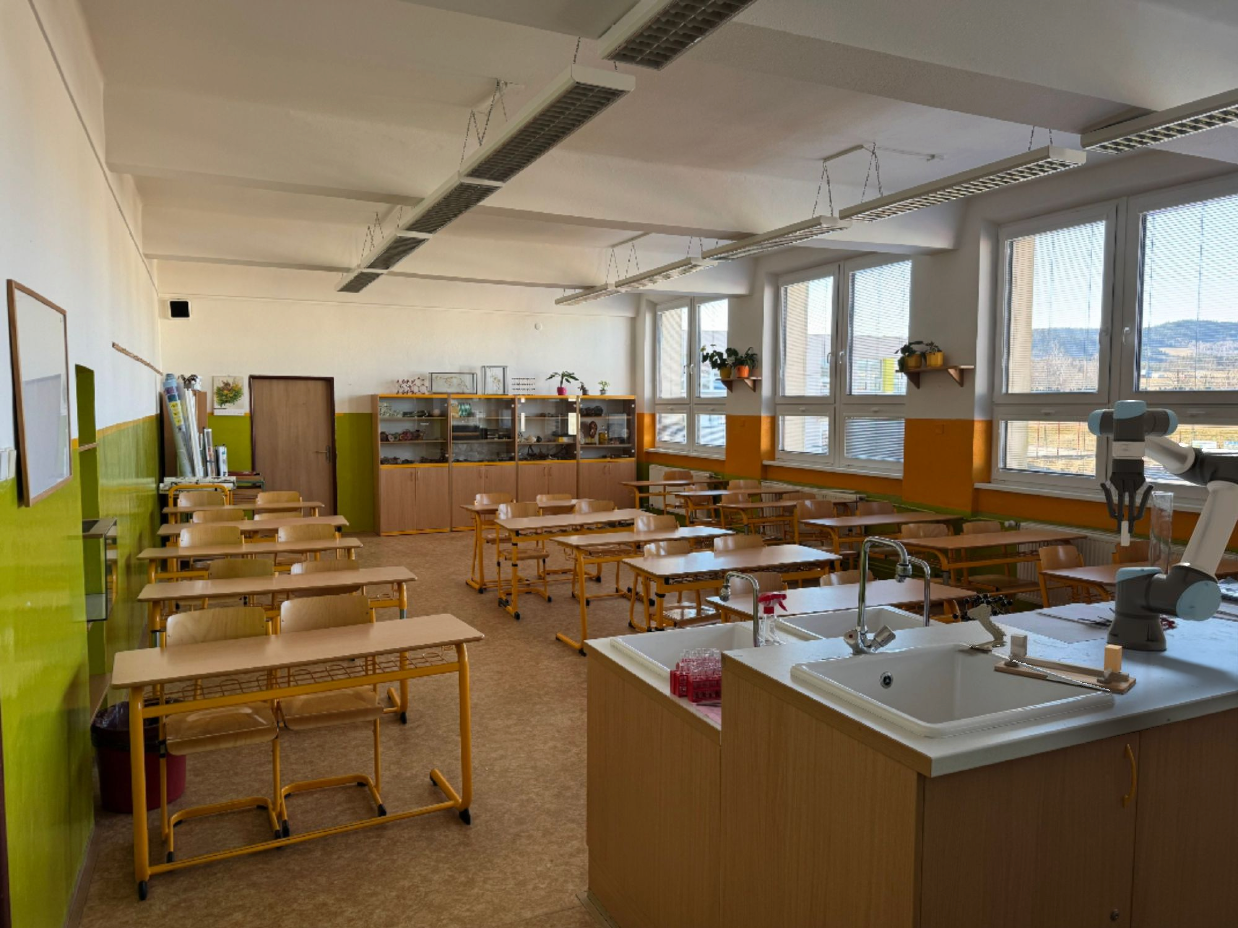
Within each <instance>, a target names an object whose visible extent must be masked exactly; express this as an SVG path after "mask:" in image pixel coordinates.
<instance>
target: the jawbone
mask: <svg viewBox="0 0 1238 928" xmlns="http://www.w3.org/2000/svg"><path fill="white" fill-rule="evenodd" d="M991 613H992V606H991V605H990V604H988V605H987V604H986V603H981V604H980V605H979V606H977V607H972V608H970V609H968V610H967V613H966V614H967V616H968V617H970V618H973V619H975V620H977V621H978V622H979V623H980V625H981V626H982V627H983V628H984V630H985V631H986V632H988V633H989V634H990V635H991V636H992V638H993V640H989V641H986V642H982V643H978V644H969V645H968V647H969V646H971V645H972V646H971V647H975V648H976V649H980V650H986V651H991V650H994V651H995V649H994V648H995V647H994V646H996V647H998V646H997V645H1001V646H1002V645H1003V644H1007V643H1008V641H1006V640H1004V639H1005V637H1007V636H1008V635H1007V633H1006V631H1003V628H1001V627H1000V626H999V625H997V624H996V623H995V622H993V621H992V620H991ZM976 646H979V647H976ZM992 646H993V647H992ZM971 647H970V648H971ZM975 648H974V649H975Z"/></svg>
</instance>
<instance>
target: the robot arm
mask: <svg viewBox="0 0 1238 928" xmlns="http://www.w3.org/2000/svg"><path fill="white" fill-rule="evenodd" d="M1178 427H1179V419H1178V415H1177V414H1176V413H1175V412H1174V411H1173V410H1171V409H1165V408H1148V407H1147V402H1146V401H1144V400H1118V401H1116V402H1115V403H1114V407H1113V408H1112V409H1107V408H1104V409H1097V410H1094V411H1092V412H1091V413H1090V414H1089V416H1088V419H1087V429H1088V431H1089V432H1090V433H1091V434H1092V435H1094V436H1097V437H1098V436H1099V437H1104V436H1105V437H1109V438H1110V439H1112V451H1111V452H1112V453H1111V455H1112V456H1113V457H1114V458H1112V460H1111V473H1110V474H1111V475H1110V476H1109V479H1108V480H1106V481H1104V482H1100V484H1099V486H1100V488H1101V490H1102V491H1103V493H1104V497H1105V501H1106V506H1107V511H1108V514H1109V517H1110V518H1111V519H1114V520H1116V521H1117V522H1116V525H1117V527H1116V531H1117V533H1118V534H1120V538H1121V539H1120V546H1121V547H1122V546H1123V547H1129V546H1130V539H1131V538H1130V537H1131V535H1132V534H1134V532H1135V522H1136V521H1140V520H1142V519H1143V518H1144V515H1145V513H1146V509H1147V505H1148V502H1149V501H1150V496H1151V493H1153V491H1154V490H1155V489H1156V486H1155V484H1151V483H1150V482H1148V481H1147V478H1146V477H1145V459H1143V458H1145V457H1147V458H1148V459H1151V460H1152V461H1154V462H1156V463H1158V464H1160V465H1162V468H1163V469H1164V470H1165V471H1166V472H1168V473H1169V474H1171V475H1172V476H1175V477H1177V478H1179V479H1181V480H1183V481H1186V482H1187V483H1188V482H1189V483H1191V484H1193V485H1197V486H1200V487H1205V488H1207V490H1208V492H1209V494H1208V497H1207V500H1206V501H1205V504H1204V505H1203V509H1202V511H1201V513H1200V515H1199V517H1198V520H1197V523H1196V525H1195V527H1194V530H1193V531H1192V535H1191V537H1190V539H1189V541H1188V544H1187V545H1186V548H1185V550H1184V552H1183V555H1182V557H1181V559H1180V562H1179V563H1175V564H1173V565H1171V568H1170V570H1169V571H1168V574H1164V573H1163V572H1164V571H1163V570H1162V568H1161V567H1157V566H1156V567H1155V566H1136V567H1135V566H1133V567H1131V566H1130V567H1129V566H1128V567H1121V568H1119V569H1117V571H1116V574H1115V581H1114V584H1115V589H1114V595H1115V596H1114V617H1113V619H1112V622H1111V624H1110V627H1109V629H1108V630H1107V634H1106V635H1107V637H1106V641H1107V643H1109V644H1110V645H1116V646H1122V648H1125V649H1130V650H1131V649H1132V650H1139V651H1163V650H1166V649H1167V638H1166V634H1165V632H1164V629H1163V626H1162V623H1161V616H1166V617H1171V618H1175V619H1181V620H1183V621H1189V622H1190V621H1191V622H1192V621H1193V622H1204V621H1207V620H1209V619H1211V618H1213V616H1214V615H1216V613H1217V612H1218V610H1219V609H1220V607H1221V603H1222V596H1223V595H1222V589H1221V587H1220V586H1219V581H1218V578H1217V576H1216V575H1215V574H1216V571H1217V568H1218V567H1219V565H1220V562H1221V560H1222V557H1223V555H1224V553H1225V551H1226V550H1225V549H1226V548H1227V545H1228V544H1229V540H1230V537H1231V536H1232V533H1233V531H1234V529H1235V526H1236V523H1237V522H1238V449H1236V448H1212V447H1211V448H1207V447H1206V448H1203V447H1194V446H1191V445H1189V444H1187V443H1186V444H1185V443H1177V442H1176V441H1174V440H1172V439H1171V438H1169V437H1168V436H1171V435H1173V434H1174V433H1175V432H1176V431H1177V429H1178ZM1112 486H1113V487H1114V489H1115V490H1116V491H1117V507H1116V505H1115V503H1114V497H1113V493H1112V490H1111V489H1112ZM1142 487H1143V490H1144V491H1143V493H1142V496H1141V499H1140V503H1139V506H1138V509H1137V512H1136V506H1137V505H1136V504H1137V502H1136V501H1137V500H1136V499H1137V492H1138V491H1140V489H1141V488H1142ZM1126 493H1128V495H1127V496H1128V506H1127V507H1128V509H1127V510H1128V511H1127V513H1128V514H1127V520H1125V519H1126V518H1125V509H1126V507H1125V506H1126V505H1125V503H1126ZM1116 508H1117V510H1116Z"/></svg>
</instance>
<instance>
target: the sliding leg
mask: <svg viewBox="0 0 1238 928" xmlns="http://www.w3.org/2000/svg"><path fill="white" fill-rule="evenodd" d="M1122 656H1123V647H1122V646H1116V645H1113V644H1110V643H1109V644H1107V645H1106V646H1104V659H1103V669H1104V675H1105V678H1108V675H1109V674H1110V673H1111V672H1114V673H1118V672H1122Z"/></svg>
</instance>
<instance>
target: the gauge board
mask: <svg viewBox="0 0 1238 928" xmlns="http://www.w3.org/2000/svg"><path fill="white" fill-rule="evenodd" d="M1007 658H1009V659H1010V661H1005V659H1004V660H1002V661H1000V662H999V663H996V664H995V665H994V671H999V672H1003V673H1008V674H1012V675H1013V674H1014V675H1020V676H1025V677H1030V678H1036V679H1039V680H1040V679H1041V680H1046V678H1047V677H1048V675H1045V674H1043V673H1040V672H1037V671H1034V670H1031V669H1028V668H1026V667H1022V666H1019V665H1018V663H1016V662H1012V661H1013V660H1016V661H1018V662H1021V663H1026V664H1027V665H1031V666H1032V667H1035V668H1040V669H1042V670H1045V671H1049V672H1050V673H1055V674H1056V675H1060V676H1065V677H1066V678H1070V679H1071V680H1076V681H1080V682H1082V683H1087V684H1092V685H1095V686H1099V687H1101V688H1105V689H1109V690H1110V691H1112V692H1111V693H1114V694H1121V695H1124V694H1126V693H1127V692H1128V691H1129V690H1130V689H1131V688H1133V686H1135V685H1136V683H1137V677H1130V673H1127V672H1124V671H1123V672H1122V671H1119V672H1118V673H1114V672H1111V673H1110V674H1109V675H1108V678H1105V675H1104V668H1099V667H1094V666H1088V665H1082V664H1075V663H1071V662H1065V661H1059V660H1053V659H1049V658H1048V659H1047V658H1041V657H1036V656H1031V655H1030V656H1029V655H1028V634H1026V633H1020V632H1014V633H1013V634H1011V635H1010V653H1009V654H1008V655H1007ZM1046 681H1047V680H1046Z"/></svg>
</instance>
